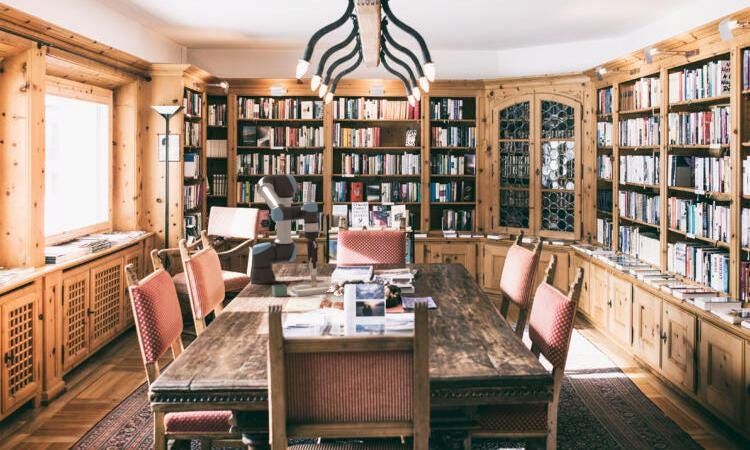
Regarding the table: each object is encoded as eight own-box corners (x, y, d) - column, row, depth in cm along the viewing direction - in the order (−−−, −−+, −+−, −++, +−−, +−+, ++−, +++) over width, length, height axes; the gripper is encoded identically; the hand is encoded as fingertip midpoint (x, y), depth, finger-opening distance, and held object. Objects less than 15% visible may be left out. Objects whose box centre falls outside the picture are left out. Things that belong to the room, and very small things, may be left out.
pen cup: (272, 294, 370) (271, 285, 370) (284, 293, 372) (283, 284, 372) (275, 296, 364) (274, 287, 363) (287, 295, 366) (286, 286, 366)
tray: (290, 291, 377) (290, 287, 377) (329, 287, 385) (328, 283, 385) (298, 296, 363) (298, 291, 362) (338, 291, 371) (337, 287, 370)
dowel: (310, 286, 374) (309, 257, 373) (315, 286, 376) (314, 257, 374) (312, 287, 372) (310, 258, 371) (317, 286, 373) (315, 257, 372)
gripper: (300, 230, 377) (302, 272, 379) (308, 232, 363) (310, 276, 364) (314, 229, 380) (316, 271, 382) (322, 231, 365) (324, 275, 367)
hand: (313, 274), depth 373 cm, fingers closed on dowel, 3 cm apart
